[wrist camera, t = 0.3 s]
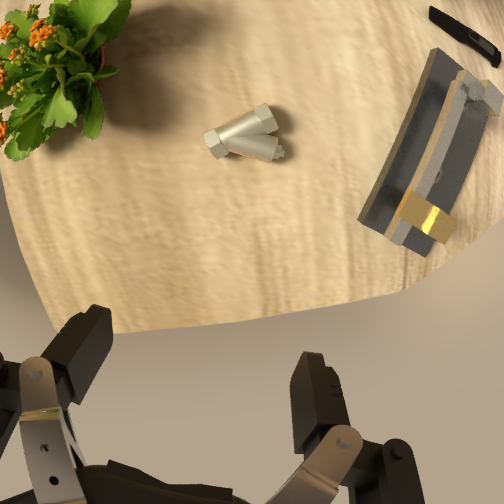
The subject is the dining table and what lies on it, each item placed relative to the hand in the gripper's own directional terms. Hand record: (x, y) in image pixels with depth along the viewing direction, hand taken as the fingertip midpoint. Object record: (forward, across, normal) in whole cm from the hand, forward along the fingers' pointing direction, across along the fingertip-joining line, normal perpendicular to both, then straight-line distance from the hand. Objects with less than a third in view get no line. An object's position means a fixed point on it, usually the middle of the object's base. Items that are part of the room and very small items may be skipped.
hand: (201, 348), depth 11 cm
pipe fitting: (+28, +1, -7) cm, 29 cm away
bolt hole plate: (+28, -24, -13) cm, 39 cm away
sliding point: (+25, -20, -5) cm, 33 cm away
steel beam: (+25, -22, -12) cm, 36 cm away
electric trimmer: (+29, -27, -34) cm, 52 cm away
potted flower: (+28, +26, -15) cm, 41 cm away
